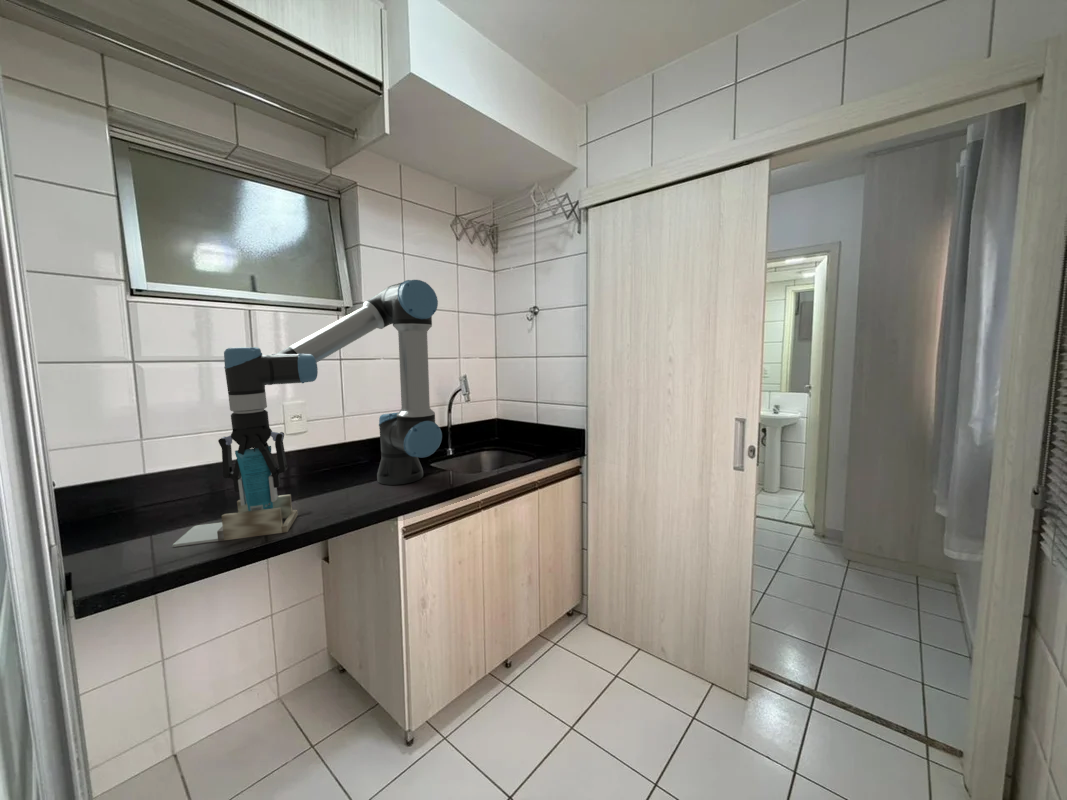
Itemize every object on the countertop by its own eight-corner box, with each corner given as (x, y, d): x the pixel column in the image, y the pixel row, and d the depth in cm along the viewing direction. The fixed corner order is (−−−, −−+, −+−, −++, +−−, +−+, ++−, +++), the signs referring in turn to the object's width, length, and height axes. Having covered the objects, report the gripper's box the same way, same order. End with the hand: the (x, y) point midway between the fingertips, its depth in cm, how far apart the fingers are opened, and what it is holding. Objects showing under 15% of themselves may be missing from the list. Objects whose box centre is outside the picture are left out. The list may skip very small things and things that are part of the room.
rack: (297, 515, 113) (295, 493, 112) (287, 531, 102) (285, 508, 102) (235, 522, 108) (233, 500, 108) (218, 541, 98) (215, 516, 97)
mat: (236, 522, 108) (236, 520, 108) (219, 540, 98) (219, 538, 98) (195, 527, 106) (194, 525, 106) (172, 547, 95) (172, 544, 95)
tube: (276, 515, 110) (268, 443, 107) (281, 520, 106) (273, 446, 104) (242, 524, 105) (233, 449, 102) (246, 529, 101) (236, 452, 99)
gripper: (296, 406, 108) (304, 492, 111) (210, 411, 102) (221, 501, 105) (288, 410, 101) (298, 501, 104) (196, 416, 95) (208, 512, 98)
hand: (259, 501), depth 105 cm, fingers closed on tube, 6 cm apart
